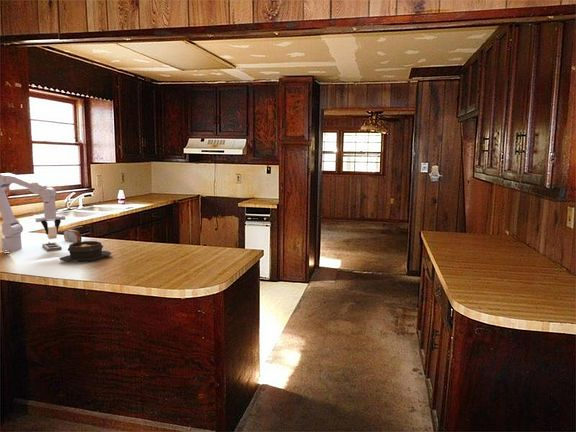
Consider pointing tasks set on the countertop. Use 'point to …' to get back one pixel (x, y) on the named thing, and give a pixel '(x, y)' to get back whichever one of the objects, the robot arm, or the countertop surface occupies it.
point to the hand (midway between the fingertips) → (51, 233)
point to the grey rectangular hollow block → (51, 246)
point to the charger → (52, 232)
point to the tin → (72, 235)
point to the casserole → (85, 251)
